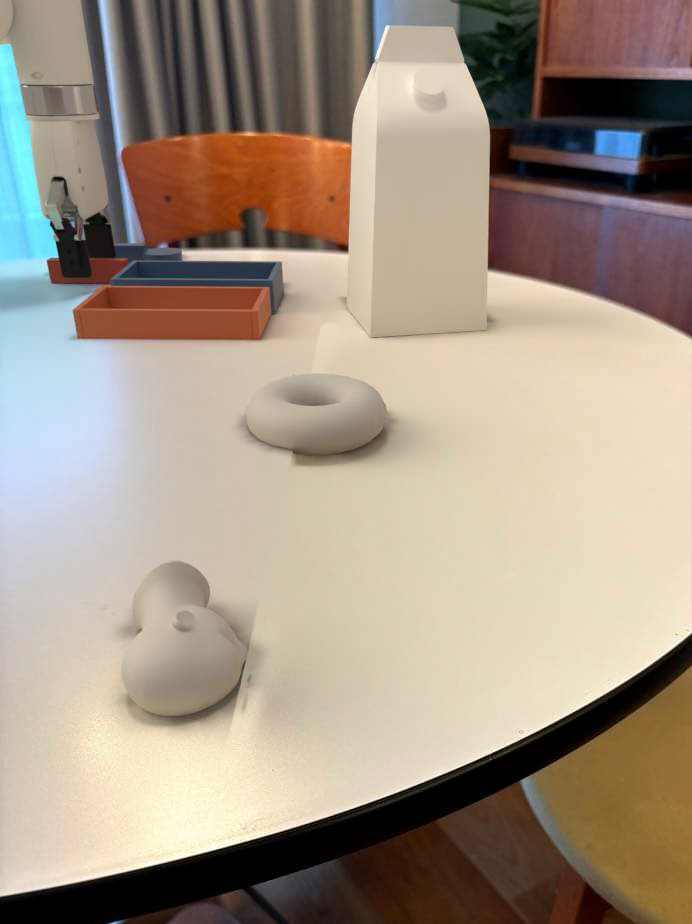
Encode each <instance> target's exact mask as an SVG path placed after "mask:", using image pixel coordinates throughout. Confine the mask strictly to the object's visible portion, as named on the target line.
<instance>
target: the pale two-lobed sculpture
mask: <svg viewBox="0 0 692 924" xmlns="http://www.w3.org/2000/svg"><path fill="white" fill-rule="evenodd" d="M210 598H211V588H210V583H209V581H208V580H207V578H206V577H205V575H204V574H203V573H202V572H201V571H200V570H199V569H198V568H196V567H195V566H194V565H192V564H190V563H187V562H186V561H182V560H178V559H169V560H165V561H164V562H162V563H160V564H158V565H156V566H155V567H153V568H152V569H150V571H149V572H148V573H147V574H146V575H145V576H144V578H143V579H142V580H141V582H140V583H139V584H138V586H137V588H136V590H135V592H134V594H133V598H132V603H131V608H132V614H133V615H132V616H133V618H134V621H135V624H136V626H137V627H138V629H139V630H140V632H139V633H138V634H136V636H135V637H134V638H133V639H132V641H131V642H130V643H129V645H128V646H127V648H126V650H125V652H124V654H123V656H122V660H121V668H120V674H121V680H122V683H123V686H124V689H125V691H126V692H127V694H128V696H129V697H130V699H131V700H132V701H133V702H134V703H135V704H136V705H137V706H139V708H141V709H142V710H145V711H146V712H148V713H151V714H154V715H156V716H159V717H181V716H188V715H191V714H196V713H199V712H201V711H203V710H206V709H208V708H210V707H212V706H214V705H216V704H217V703H219V702H220V701H222V700H223V699H224V698H226V697H227V696H228V695H229V694H230V693H231V692H232V691H233V690H234V689H235V687H236V686H237V684H238V682H239V680H240V678H241V674H242V667H243V666H244V663H245V662H246V660H247V658H248V649H247V647H246V645H245V644H244V643H243V642H242V641H241V640H240V639H239V638H238V637H237V635H236V633H235V632H234V631H233V629H232V628H231V627H230V625H229V623H228V621H227V620H226V619H225V618H224V617H222V616H221V615H220V614H218V613H217V612H216V611H213V610H212V609H209V608H207V605H208V604H209V602H210Z"/></svg>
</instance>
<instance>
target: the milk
mask: <svg viewBox="0 0 692 924" xmlns="http://www.w3.org/2000/svg"><path fill="white" fill-rule="evenodd" d="M351 126H352V127H351V152H350V153H351V154H350V156H351V157H350V159H351V160H350V190H349V221H348V222H349V224H348V250H347V251H348V252H347V283H346V284H347V285H346V286H347V288H346V308H347V310H348V311H349V312H350V314H351V315H352V316H353V317H354V319H355V320H356V321H357V322H358V324H359V325H360V326H361V328H362V329H363V330H364V331H365V333H366V334H367V335H368V337H369V338H384V337H399V336H400V337H401V336H413V335H414V336H416V335H429V334H430V335H433V334H447V333H448V334H449V333H461V332H476V331H477V332H478V331H487V327H488V324H487V323H488V278H489V277H488V276H489V275H488V274H489V271H488V270H489V267H488V266H489V216H490V215H489V214H490V212H489V211H490V165H491V164H490V158H491V157H490V155H491V131H490V129H491V128H490V123H489V117H488V115H487V111H486V108H485V106H484V103H483V101H482V99H481V96H480V94H479V91H478V89H477V86H476V84H475V82H474V79H473V77H472V75H471V73H470V71H469V69H468V66H467V64H466V63H465V58H464V55H463V52H462V49H461V46H460V43H459V40H458V37H457V34H456V31H455V27H454V26H438V25H437V26H435V25H433V26H432V25H428V26H427V25H399V24H398V25H395V24H393V25H392V24H389V25H388V24H387V25H385V28H384V31H383V33H382V37H381V38H380V42H379V45H378V49H377V51H376V54H375V57H374V62H373V63H372V65H371V68H370V69H369V72H368V74H367V78H366V80H365V83H364V84H363V88H362V90H361V93H360V94H359V97H358V100H357V103H356V105H355V109H354V112H353V119H352V125H351Z"/></svg>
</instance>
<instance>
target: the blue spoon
mask: <svg viewBox="0 0 692 924" xmlns="http://www.w3.org/2000/svg"><path fill="white" fill-rule="evenodd" d="M114 246H115V252H116V257H115V258H128V264H129V263H131V262H132V261H133V260H162V261H184V258H183V251H182V249H180V248H177V247H155V248H148V247H147V246H148V245H147V243H143V242H142V243H141V242H140V243H139V242H136V243H135V242H133V243H132V242H131V243H129V242H114Z"/></svg>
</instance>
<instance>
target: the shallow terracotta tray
mask: <svg viewBox="0 0 692 924" xmlns="http://www.w3.org/2000/svg"><path fill="white" fill-rule="evenodd" d="M89 260H90V265H91V271H92V276H91V277H89V278H65V277H63V275H62V272H61V267H60V262H59V257H50V258H48V259H46V264H47V265H46V266H47V270H48V275H49V281H50V283H51V284H111V282H110V279H111V278H112V277H113V276H115V275H116V274H117V273H118V272H120V271H121V270H122V269H123V268H124V267H126V266H127V265H128V258H89Z"/></svg>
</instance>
